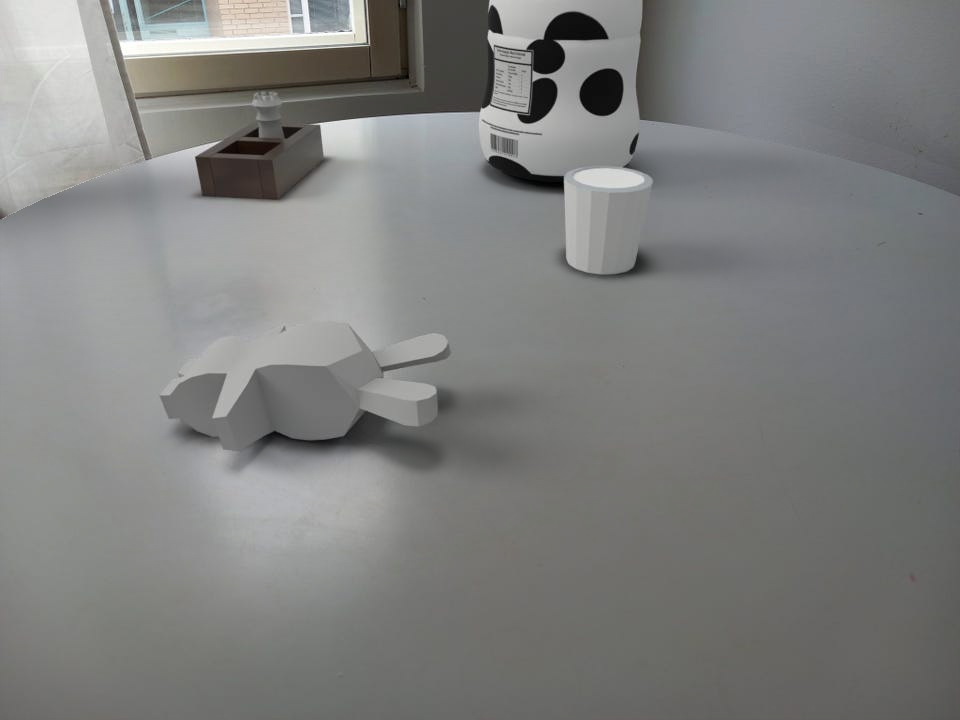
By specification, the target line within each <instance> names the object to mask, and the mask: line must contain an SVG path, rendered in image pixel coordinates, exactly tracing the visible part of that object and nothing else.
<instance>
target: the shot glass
mask: <svg viewBox="0 0 960 720" xmlns="http://www.w3.org/2000/svg"><path fill="white" fill-rule="evenodd" d="M653 184H654V179H653V178H652V177H651V176H650V175H649V174H647V173H644V172H642V171H640V170H636V169H633V168H628V167H624V168H623V167H612V166H590V167H583V168H577V169H574V170H572V171H569V172H567V174H566V175H565V176H564V182H563V188H564V189H563V190H564V191H563V193H564V223H565V225H564V227H565V254H566V255H565V257H566V258H565V259H566V261H567V264H568V265H569V266H571V267H572V268H574V269H575V270H578V271H581V272H584V273H587V274H594V275H617V274H621V273H627V272H629V271H630V270H631V269H633V268H634V267H635V264H636V261H637V257H638V256H637V255H638V252H639V246H640V242H641V237H642V233H643V228H644V224H645V220H646V215H647V211H648V206H649V202H650V197H651V191H652V189H653Z"/></svg>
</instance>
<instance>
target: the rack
mask: <svg viewBox="0 0 960 720" xmlns="http://www.w3.org/2000/svg"><path fill="white" fill-rule="evenodd" d="M281 126H282V130H283V134H284V138H285V139H282V138H259V126H258V121H254V122H252V123H250V124H248V125H246V126H245V127H243V128H241V129H239V130H238V131H236V132H234V133H233V134H231V135H229V136H228V137H226V138H224V139H223V140H221V141H219V142H218V143H216V144H214V145H212V146H210V147H209V148H207V149H206V150H204V151H202V152H200V153H199V154H197V155H196V156H194V159H195V164H196V169H197V170H196V171H197V174H198V175H197V176H198V179H199V185H200V190H201V196H203V197H220V198H221V197H222V198H237V199H241V198H242V199H259V200H262V199H263V200H279V199H281V197H283V196H284V195H285V194H286V193H287V192H288V191H290V190H291V189H292V188H293V187H294V186H295V185H296V184H298V183H299V182H300V181H301V180H302V179H303V178H304V177H306V176H307V175H308V174H309V173H310V172H312V170H314V169H315V168H316V167H317V166H318V165H319V164H321V163H322V162H323V161H324V160H325V156H324V148H323V139H322V137H323V136H322V130H321V129H322V128H321V127H322V126H321V124H313V123H312V124H311V123H287V122H285V123H282V122H281Z"/></svg>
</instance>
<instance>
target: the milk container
mask: <svg viewBox="0 0 960 720" xmlns="http://www.w3.org/2000/svg"><path fill="white" fill-rule="evenodd" d="M488 2H489V3H488V10H487V26H488V31H487V79H486V80H487V81H486V82H487V83H486V87H485V92H484V95H483V99H482V103H481V108H480V112H479V117H478V137H479V142H480V147H481V153H482V154H483V156H484V158H485V160H486V162H487V163H488V164H489V165H490V166H491V167H493V168H494V169H496V170H498V171H500V172H502V173H504V174H506V175H509V176H513V177H517V178H520V179H524V180H528V181H541V182H544V183H545V182H546V183H564V176H565V175H566V174H567V172H569V171H572V170H574V169H577V168H583V167H590V166H612V167H623V168H627V166H628V165H629V164H630V162H631V161H632V160H633V158H634V155H635V151H636V148H637V144H638V140H639V137H640V130H641V129H640V128H641V120H640V119H641V118H640V109H639V104H638V103H639V102H638V98H637V72H638V71H637V70H638V63H639V55H640V48H641V41H642V40H641V29H642V22H643V0H489V1H488Z"/></svg>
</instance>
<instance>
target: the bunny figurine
mask: <svg viewBox="0 0 960 720" xmlns="http://www.w3.org/2000/svg"><path fill="white" fill-rule="evenodd" d="M451 355H452V350H451V347H450V343H449V341H448V339H447V338H446V336H445V335H444V334H440V333H437V332H432V333H427V334H423V335H419V336H416V337H412V338H410V339H406V340H403V341H399V342H397V343H394V344H391V345H388V346H385V347H382V348H379V349H376V350H371V348H369V346H368V345H367V344H366V343H365V342H364V340H363V339H362V338H361V337H360V336H359V335H358V333H357V332H356V331H355V330H354V328H353V327H352V326H351V325H350V324H349V322H345V321H344V322H343V321H335V320H334V321H332V320H326V321H323V320H322V321H310V322H304V323H301V324H300V323H299V324H296V325H292V326H291V327H289V328H286V325H285V324H284V325H280V326H277V327H272V328H271V329H269V330H267V331H266V332H264V333H263V334H261V335H260V336H258V337H256V338H255V339H253V340H251V341H247V340H245V339H243V338H241V337H239V336H236V335H230V336H222V337H220V338H218V339H217V340H215V341H214V342H212V343H210V344H209V345H208V346H207V347H206V349H205V350H204V351H203V353H202V354H201V355H200V356H199V357H191V358H189V359H187V361H186V362H185V363H184V365H183V366H182V367H181V368H180V370H179V371H178V372H177V376H178V377H177V378H173V379H171V381H170V382H169V383H168V384H167V386H166V387H165V388H164V389H163V390H162V391H161V393H160V394H159V398H160V401H161V403H162V406H163V408H164V411H165V413H166V415H167V418H168V420H175V419H177V420H180V421H182V422H183V423H184V424H186V425H187V426H189V427H190V428H192V429H193V430H194V431H196V432H198V433H201V434H204V435H207V436H209V437H212V438H217V437H218V439H219V441H220V444H221V447H222V450H225V451H231V452H232V451H233V452H240V451H242V450H244V449H245V448H247V447H248V446H250V445H252V444H254V443H255V442H257V441H258V440H261V439H262V438H263V437H265V436H267V435H269V434H271V433H273V432H277V433H278V434H282V435H283V436H286V437H288V438H290V439H293V440H294V439H295V440H302V441H321V440H330V439H335V438H341V437H344V436H345V435H346V434H347V433H348V432H349V431H350V430H351V429H352V427H353V426H354V425H355V424H356V423H357V422H358V420H359V419H361V417H362V416H363V415H364V414H365V413H366V411H367V412H369V413H371V414H373V415H376V416H379V417H382V418H383V419H387V420H388V421H389V420H390V421H392V422H395V423H397V424H400V425H403V426H405V427H406V426H408V427H409V426H410V427H419V428H420V427H422V426H425V425H427V424H430V423H432V422H433V421H434V420H435V419H436V418H437V417H438V415H439V403H438V392H437V390H438V389H437V388H436V387H435V386H434V385H432V384H429V383H424V382H416V381H410V380H409V381H408V380H399V379H391V378H384V377H385V376H384V375H385V374H384V372H388V371H395V370H400V369H404V368H405V369H406V368H409V367H415V366H420V365H421V366H422V365H426V364H431V363H432V364H433V363H437V362H440V361H443V360H446V359H448V358H449V357H450V356H451Z"/></svg>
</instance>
